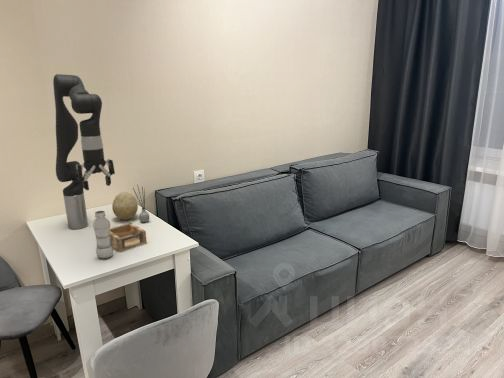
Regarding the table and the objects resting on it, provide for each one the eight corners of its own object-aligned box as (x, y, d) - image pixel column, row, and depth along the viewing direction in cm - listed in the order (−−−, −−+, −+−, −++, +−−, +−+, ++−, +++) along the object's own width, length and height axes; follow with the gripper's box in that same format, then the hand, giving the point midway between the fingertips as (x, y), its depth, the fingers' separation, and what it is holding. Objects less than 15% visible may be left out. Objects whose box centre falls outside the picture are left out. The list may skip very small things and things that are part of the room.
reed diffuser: (153, 223, 194) (150, 186, 188) (140, 226, 190) (137, 188, 184) (144, 217, 201) (140, 181, 196) (132, 221, 197) (128, 184, 191)
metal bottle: (99, 253, 161) (93, 209, 155) (115, 253, 161) (110, 209, 155) (94, 260, 154) (88, 215, 149) (111, 260, 155) (106, 214, 149)
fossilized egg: (108, 222, 195) (105, 195, 191) (122, 214, 207) (119, 188, 203) (131, 224, 192) (128, 196, 188) (143, 215, 204) (140, 189, 200)
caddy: (105, 242, 172) (104, 230, 170) (132, 234, 180) (130, 222, 178) (119, 252, 162) (118, 239, 160) (146, 243, 171) (145, 230, 169)
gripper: (106, 144, 152) (110, 182, 157) (69, 148, 143) (75, 189, 147) (114, 146, 147) (119, 185, 152) (77, 151, 137) (83, 193, 142)
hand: (97, 187), depth 149 cm, fingers open, 8 cm apart
